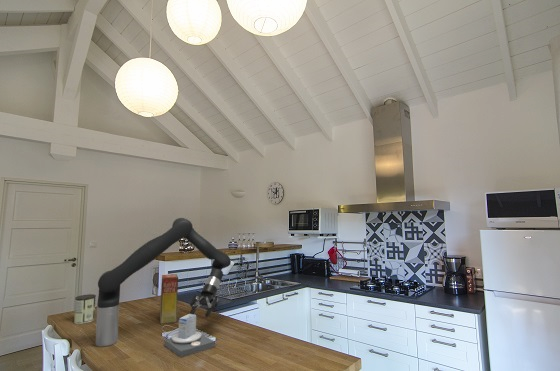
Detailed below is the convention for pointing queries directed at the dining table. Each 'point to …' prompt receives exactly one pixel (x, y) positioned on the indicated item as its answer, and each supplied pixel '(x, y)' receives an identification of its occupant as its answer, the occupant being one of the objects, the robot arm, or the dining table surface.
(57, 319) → the dining table surface
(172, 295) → the food packaging
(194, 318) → the medicine box
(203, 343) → the kitchen scale
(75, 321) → the coffee can
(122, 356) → the dining table surface
